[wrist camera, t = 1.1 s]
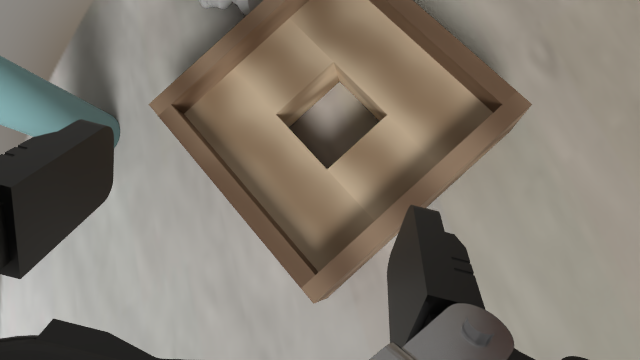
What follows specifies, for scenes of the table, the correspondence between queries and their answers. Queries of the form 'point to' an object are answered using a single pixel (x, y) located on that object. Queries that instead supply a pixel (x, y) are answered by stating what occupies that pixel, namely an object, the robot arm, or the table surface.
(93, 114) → the peg
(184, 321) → the table surface
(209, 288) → the table surface
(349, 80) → the box
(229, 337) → the table surface
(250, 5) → the pale two-lobed sculpture
